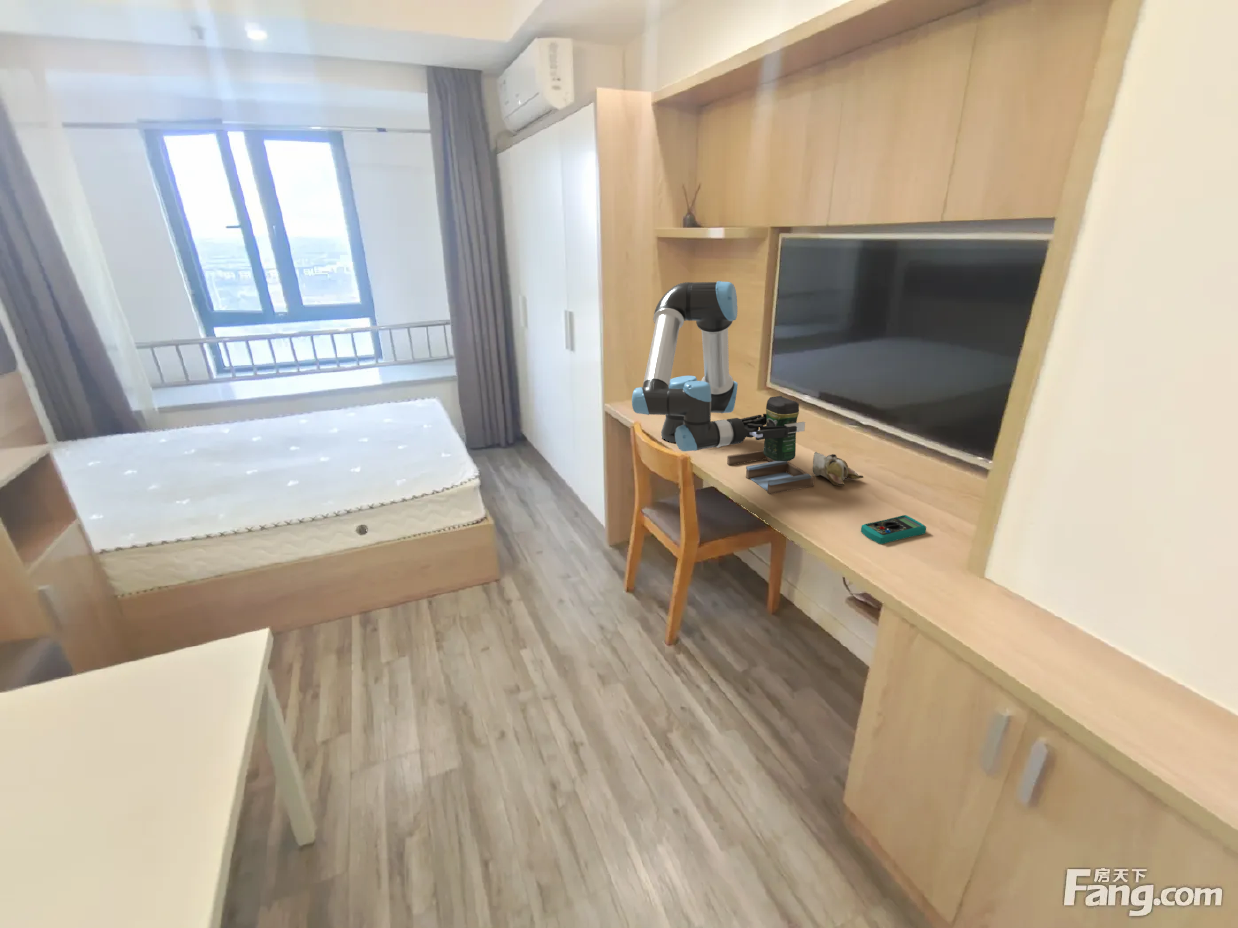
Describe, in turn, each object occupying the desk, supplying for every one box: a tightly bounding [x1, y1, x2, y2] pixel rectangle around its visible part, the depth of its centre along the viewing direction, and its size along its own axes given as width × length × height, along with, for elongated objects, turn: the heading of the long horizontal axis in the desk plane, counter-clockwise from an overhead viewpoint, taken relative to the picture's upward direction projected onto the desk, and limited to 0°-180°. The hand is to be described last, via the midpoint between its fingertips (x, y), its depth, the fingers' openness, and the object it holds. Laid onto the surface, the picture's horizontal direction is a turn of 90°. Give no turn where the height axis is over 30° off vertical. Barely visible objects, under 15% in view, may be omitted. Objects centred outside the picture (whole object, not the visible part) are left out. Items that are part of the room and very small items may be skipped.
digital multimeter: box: [860, 514, 927, 545], centre depth 141 cm, size 7×15×3 cm, turn 109°
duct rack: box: [726, 449, 815, 495], centre depth 178 cm, size 26×15×4 cm, turn 18°
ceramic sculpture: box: [811, 451, 864, 487], centre depth 172 cm, size 11×9×15 cm
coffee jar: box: [763, 395, 800, 462], centre depth 166 cm, size 10×8×19 cm
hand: (795, 422), depth 167 cm, fingers closed on coffee jar, 8 cm apart
